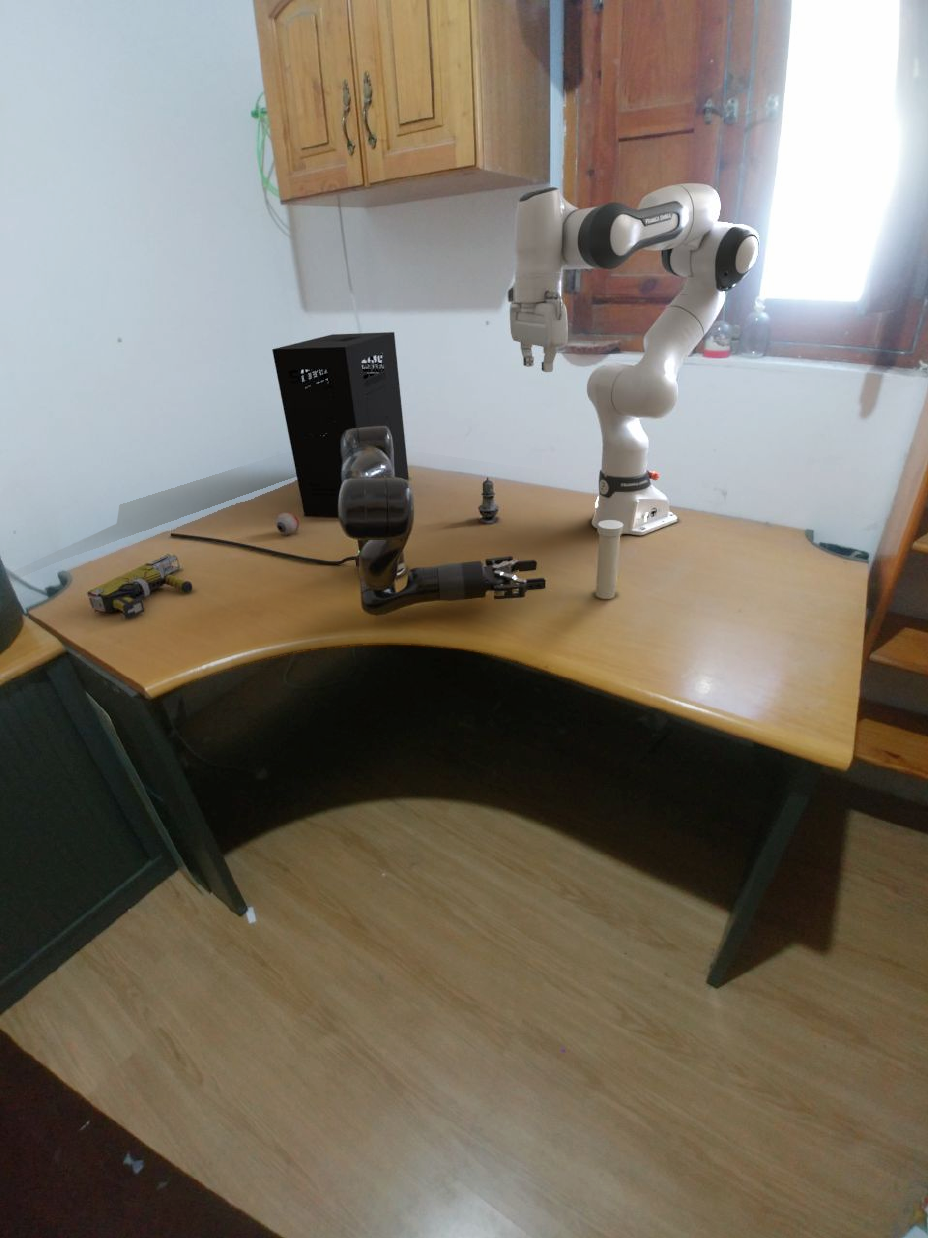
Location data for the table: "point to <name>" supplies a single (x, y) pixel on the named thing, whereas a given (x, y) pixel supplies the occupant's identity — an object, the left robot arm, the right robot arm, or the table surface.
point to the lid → (610, 528)
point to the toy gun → (136, 587)
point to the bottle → (607, 566)
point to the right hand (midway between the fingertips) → (537, 368)
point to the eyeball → (287, 523)
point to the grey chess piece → (488, 504)
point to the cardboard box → (337, 407)
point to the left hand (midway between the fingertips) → (540, 573)
